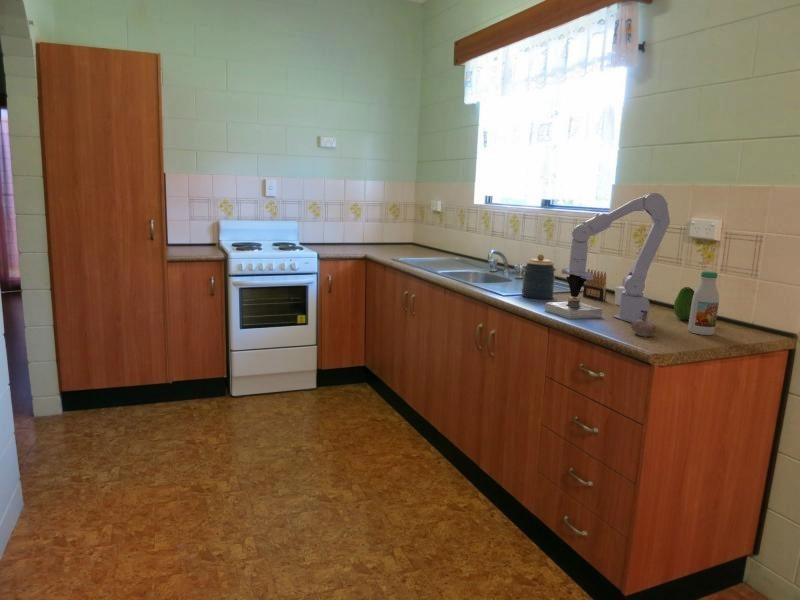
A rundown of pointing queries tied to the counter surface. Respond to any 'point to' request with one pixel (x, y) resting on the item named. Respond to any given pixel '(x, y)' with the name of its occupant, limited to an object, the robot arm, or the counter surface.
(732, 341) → the counter surface
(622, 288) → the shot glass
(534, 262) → the canister
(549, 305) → the block
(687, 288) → the avocado
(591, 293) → the ammunition clip
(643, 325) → the garlic bulb
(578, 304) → the bushing
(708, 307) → the milk bottle
